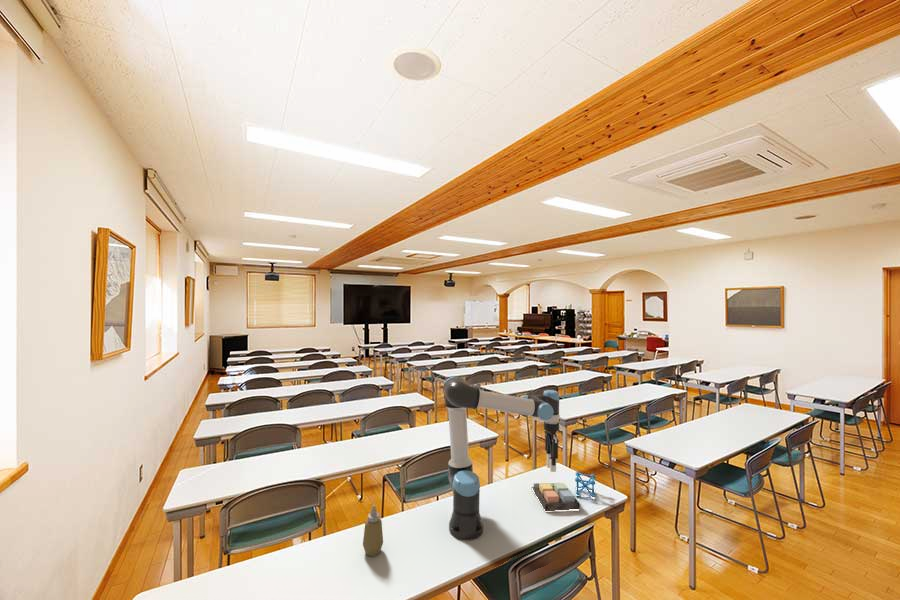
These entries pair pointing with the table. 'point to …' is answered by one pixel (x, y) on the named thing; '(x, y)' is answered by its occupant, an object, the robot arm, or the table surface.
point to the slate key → (567, 496)
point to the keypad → (554, 506)
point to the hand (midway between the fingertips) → (551, 469)
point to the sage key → (560, 487)
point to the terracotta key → (551, 496)
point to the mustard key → (545, 488)
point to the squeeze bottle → (373, 534)
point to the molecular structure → (585, 485)
